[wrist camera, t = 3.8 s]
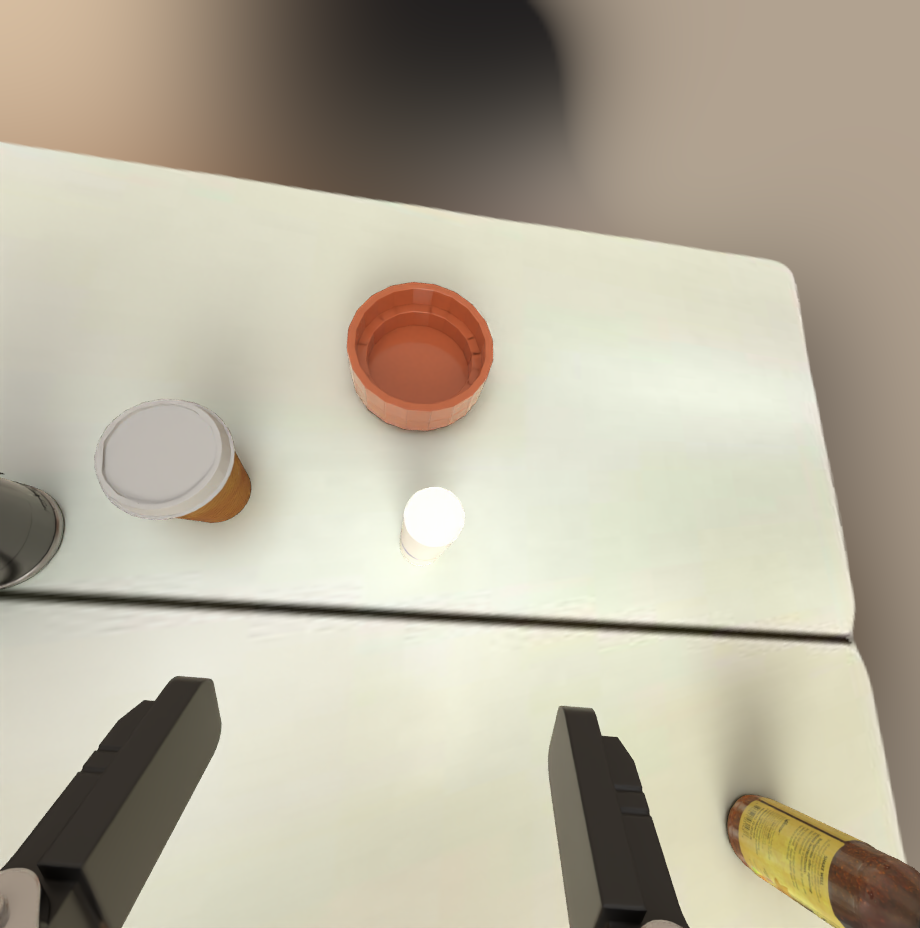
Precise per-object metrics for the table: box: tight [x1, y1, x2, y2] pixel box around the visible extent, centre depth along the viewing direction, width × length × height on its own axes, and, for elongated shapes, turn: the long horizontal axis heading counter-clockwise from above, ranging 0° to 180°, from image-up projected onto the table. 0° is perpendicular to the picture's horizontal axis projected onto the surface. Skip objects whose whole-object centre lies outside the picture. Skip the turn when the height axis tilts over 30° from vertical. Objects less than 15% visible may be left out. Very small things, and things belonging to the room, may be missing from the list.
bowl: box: [347, 282, 493, 431], centre depth 49 cm, size 15×15×6 cm
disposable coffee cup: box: [94, 399, 251, 523], centre depth 40 cm, size 10×10×12 cm
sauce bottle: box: [727, 795, 920, 928], centre depth 34 cm, size 6×6×20 cm
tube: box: [400, 487, 465, 566], centre depth 40 cm, size 4×4×15 cm
